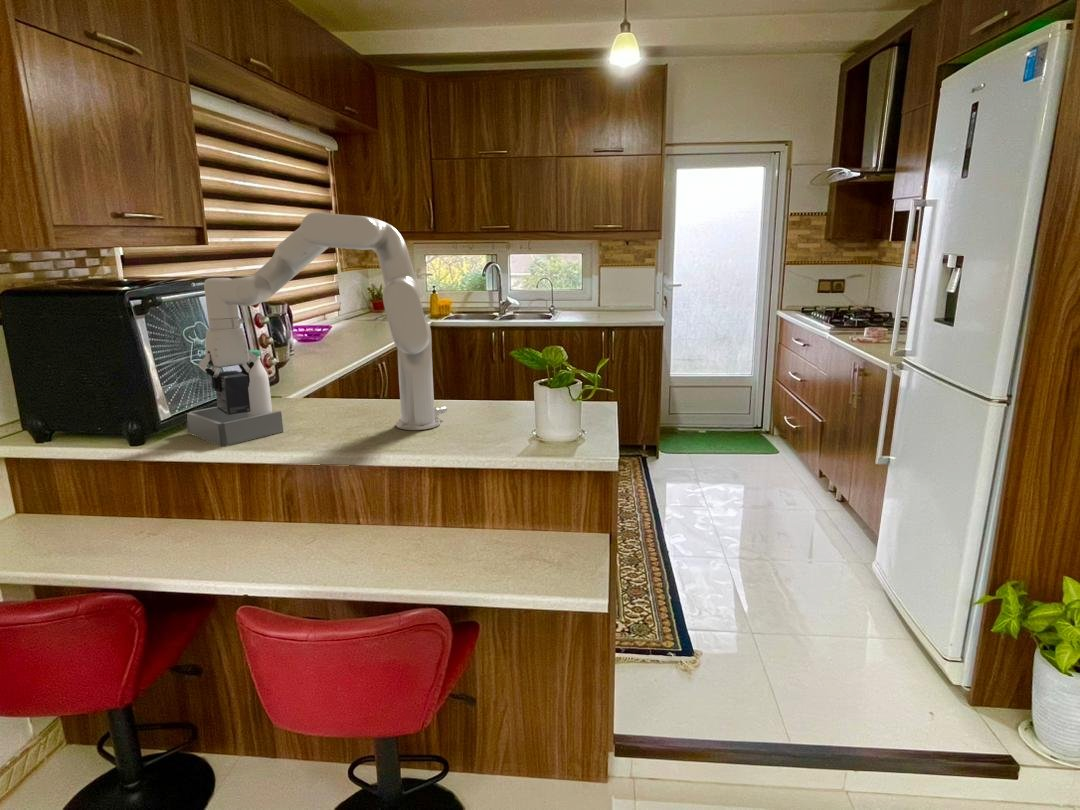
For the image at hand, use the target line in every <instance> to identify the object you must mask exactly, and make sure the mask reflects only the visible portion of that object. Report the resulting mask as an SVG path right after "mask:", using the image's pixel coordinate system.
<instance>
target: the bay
mask: <svg viewBox="0 0 1080 810" xmlns="http://www.w3.org/2000/svg"><path fill="white" fill-rule="evenodd" d="M185 424H186V430H187V433H188V432H189V433H191V434H194V435H196V436H198V437H200V438H199V439H201V438H203V439H202V440H204V439H205V441H206V440H208V441H207V442H209V441H210V442H209V443H212V442H213V443H212V444H214V443H215V445H217V444H218V445H217V446H220V445H221V446H220V447H222V446H224V447H228V446H232V445H236V444H240V442H241V443H245V442H248V440H249V441H253V440H256V438H257V439H260V437H261V438H264V437H263V436H265V437H269V436H272V434H274V435H276V433H278V434H281V433H280V432H282V433H284V425H283V415H282V410H277V411H272V412H271V413H266V414H262V415H257V416H252V417H248V412H244V413H238V414H231V415H227V414H225V413H224V412H222V411H221V410H219V409H218V408H217V406H213V407H207V408H201V409H197V410H193V411H189V413H187V423H186V422H185ZM268 435H269V436H268ZM196 436H195V437H196ZM198 437H197V438H198ZM252 439H253V440H252ZM244 441H245V442H244ZM231 444H232V445H231ZM227 445H228V446H227Z"/></svg>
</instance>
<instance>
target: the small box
mask: <svg viewBox="0 0 1080 810" xmlns="http://www.w3.org/2000/svg"><path fill="white" fill-rule="evenodd" d="M240 372H241V371H239V370H236V369H235V370H226V371H220V373H219V375H218V376H219V377H220V378H221V384H222V391H221V392H218V391H215V396H216V407H217V408H218V409H219V410H221V411H222V412H224V413H225V414H227V415H231V414H238V413H244V412H250V401H249V391H248V381H247V375H245V374H243V373H240Z"/></svg>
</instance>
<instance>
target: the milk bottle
mask: <svg viewBox="0 0 1080 810" xmlns="http://www.w3.org/2000/svg"><path fill="white" fill-rule="evenodd" d="M248 350H249V351H250V352H252V353H253V354H255V355H256V356H257V357H258V359H257V360H256V362H255V363H254V366H253V367H252V368H251V371H250V372H249V378H250V383H249V387H248V391H249V401H250V412H248V417H252V416H257V415H262V414H266V413H271V412H273V406H272V396H271V389H270V388H271V387H270V381H269V375H268V372H267V370H266V369H265V367H264V365H263V364H262V361H261V351H260V350H259V349H248ZM249 360H250V357H249ZM248 362H249V361H248ZM246 364H247V363H246Z"/></svg>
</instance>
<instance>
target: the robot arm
mask: <svg viewBox="0 0 1080 810" xmlns="http://www.w3.org/2000/svg"><path fill="white" fill-rule="evenodd" d="M329 248H334V249H335V248H337V249H346V250H347V249H348V250H359V251H360V250H361V251H367V250H372V251H373V252H375V254H376V256H377V259H378V264H379V268H380V271H381V274H382V277H383V278H382V279H383V282H384V286H385V287H384V289H383V291H382V300H383V301H382V302H383V307H384V310H385V311H384V312H385V314H386V318H387V322H388V326H389V330H390V333H391V337H392V339H393V342H394V345H395V346H396V348H397V367H398V368H397V369H398V370H397V371H398V385H399V400H400V401H399V402H400V415H401V416H400V417H401V418H400V419H398V420H397V421H396V423H395V425H396V427H397V428H398V429H401V430H406V431H407V430H408V431H423V430H429V429H430V430H431V429H433V428H437V427H438V426H440V424H441V419H440V418H439V417H438V416H439V415H443V414H445V413H447V412H448V409H447V407H446V406H445V405H444V406H440V407H437V406H435V397H434V376H433V375H434V374H433V352H432V349H433V348H432V347H433V346H432V343H433V341H432V340H433V339H432V329H431V326H430V324H429V322H428V321H427V320H426V318H425V313H424V309H423V305H422V300H421V289H420V288H419V285H418V282H417V277H416V274H415V271H414V267H413V263H412V260H411V255H410V252H409V249H408V247H407V243H406V241H405V239H404V237H403V236H402V234H401V233H400V232H399V231H398V230H397V228H395V227H394V226H393V225H392V224H389V223H388V222H386V221H383V220H380V219H378V218H375V217H372V216H367V215H365V216H364V215H355V214H354V215H353V214H339V213H330V212H323V211H322V212H321V211H314V212H310V213H308V214H306V215H305V216H304V217H303V219H302V220H301V222H300V226H299V227H298V228H297V229H295V230H294V231H293V232H292V233H291V234H290V235H288V236H287V237H286V238H285V239H283V240H282V241H280V243H279V244H278V245H277V246H276V247H275V248H274V249H275V251H274V253H273V255H272V257H271V258H270V259H268V261H267V262H266V263H265V264H264V265H262V266H261V267H260V268H259V269H258V270H257V271H255V273H253V274H251V275H250V276H245V277H239V278H233V279H232V278H230V277H212V278H207V279H205V280H204V282H203V288H204V297H205V303H206V304H205V305H206V310H207V311H206V312H207V318H208V319H207V320H208V327H209V329H208V330H205V331H206V332H205V339H204V340H205V356H204V357H203V359H201V360H200V361H199V362H198V363H197V366H198V367H199V368H200V369H201V370H202V371H203V372H204V373H206V374H207V375H208V376H209V377H211V378H210V379H211V385H212V389H214V391H215V392H216V391H218V392H221V391H222V384H221V378H220V377H219V376H218V375H219V373H220V372H221V370H222V368H225V367H226V368H227V367H233V366H238V367H239V369H240V370H241V371H239V372H240V373H243V374H245V375H247V381H248V387H249V383H250V378H249V372H250V371H251V368H252V367H253V366H254V363H255V362H256V360H257V359H258V357H257V356H256V355H255V354H253V353H252V352H250V351H249V350H250V349H249V348H248V344H247V338H246V335H245V332H244V330H243V328H242V327H241V325H242V324H244V322H245V319H244V318H240V316H239V309H238V306H245V307H251V306H255V305H258V304H262V303H264V302H266V301H267V300H269V299H270V298H271V297H273V296H274V295H275V294H276V293H277V292H278V291H280V290H281V289H282V288H283V287H284V286H286V285H287V284H288V283H289V282H290V281H291V280H292V279H293V278H294V277H296V276H297V275H298V274H300V272H302V270H304V269H305V268H306V267H307V266H308V265H309V264H310V263H312V262H313V261H314V260H316V258H318V257H319V256H320V255H322V254H323V253H324V252H325V251H326V250H328V249H329ZM249 357H250V360H249ZM248 361H249V362H248ZM246 363H247V364H246ZM209 367H211V368H209Z"/></svg>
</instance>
